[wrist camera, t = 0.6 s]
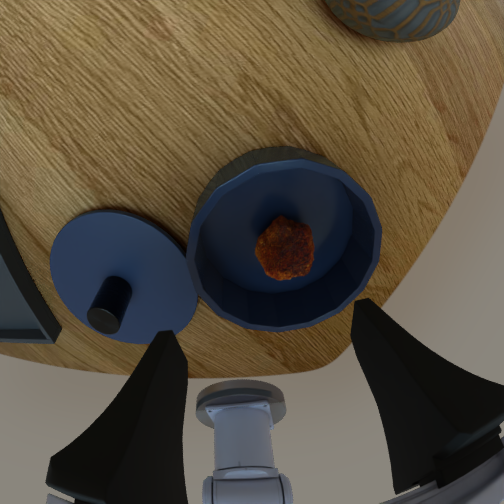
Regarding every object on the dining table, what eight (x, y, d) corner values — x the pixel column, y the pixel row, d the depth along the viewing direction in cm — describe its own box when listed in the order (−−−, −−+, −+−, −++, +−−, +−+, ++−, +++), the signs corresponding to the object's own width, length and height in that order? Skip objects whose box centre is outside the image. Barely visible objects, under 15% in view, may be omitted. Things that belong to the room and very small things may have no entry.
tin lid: (215, 328, 23) (213, 372, 19) (94, 337, 23) (79, 375, 19) (174, 187, 17) (157, 218, 13) (34, 225, 17) (2, 256, 13)
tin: (353, 281, 21) (371, 313, 18) (214, 304, 22) (212, 341, 18) (356, 139, 16) (385, 152, 13) (176, 163, 16) (163, 181, 13)
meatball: (308, 251, 19) (324, 286, 16) (255, 259, 19) (261, 297, 16) (305, 202, 17) (324, 231, 14) (247, 210, 18) (252, 242, 14)
